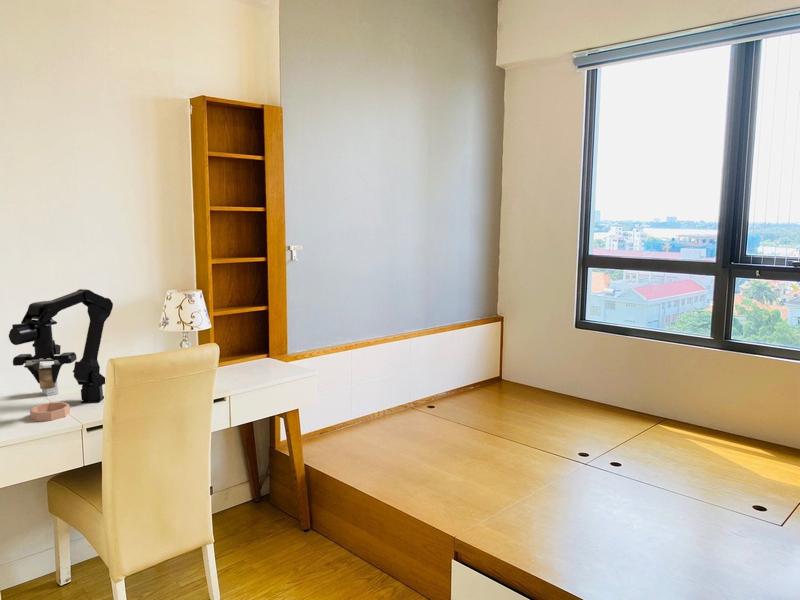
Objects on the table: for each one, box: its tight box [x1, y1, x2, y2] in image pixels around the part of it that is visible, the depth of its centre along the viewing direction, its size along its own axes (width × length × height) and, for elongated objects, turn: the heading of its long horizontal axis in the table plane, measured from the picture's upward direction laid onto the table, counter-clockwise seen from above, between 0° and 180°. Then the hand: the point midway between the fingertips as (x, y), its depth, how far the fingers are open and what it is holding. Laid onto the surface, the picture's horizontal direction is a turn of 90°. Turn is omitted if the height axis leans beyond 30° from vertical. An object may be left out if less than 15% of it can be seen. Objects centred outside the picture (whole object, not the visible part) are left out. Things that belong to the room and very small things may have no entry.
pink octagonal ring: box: [29, 401, 71, 422], centre depth 220 cm, size 11×11×3 cm
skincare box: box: [39, 361, 59, 397], centre depth 246 cm, size 6×4×12 cm
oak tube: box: [38, 367, 55, 390], centre depth 219 cm, size 5×5×7 cm
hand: (47, 382), depth 219 cm, fingers closed on oak tube, 5 cm apart
